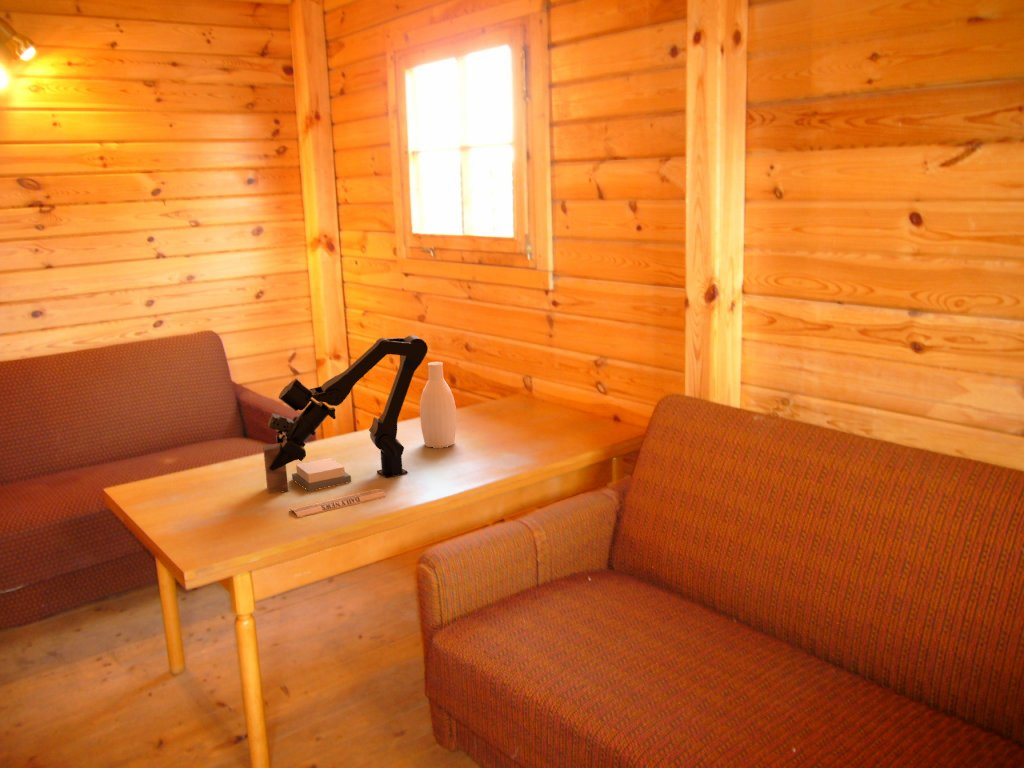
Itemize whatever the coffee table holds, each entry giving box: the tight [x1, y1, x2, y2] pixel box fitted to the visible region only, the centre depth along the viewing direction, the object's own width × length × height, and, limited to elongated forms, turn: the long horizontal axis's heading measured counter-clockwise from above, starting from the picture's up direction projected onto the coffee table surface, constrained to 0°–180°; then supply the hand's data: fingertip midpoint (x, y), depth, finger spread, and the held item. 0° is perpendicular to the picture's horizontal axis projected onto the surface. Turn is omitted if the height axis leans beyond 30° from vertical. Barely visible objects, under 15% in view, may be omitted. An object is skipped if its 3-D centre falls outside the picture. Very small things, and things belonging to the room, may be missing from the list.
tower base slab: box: [291, 471, 352, 492], centre depth 242 cm, size 12×12×2 cm
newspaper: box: [289, 488, 387, 518], centre depth 224 cm, size 24×7×2 cm, turn 123°
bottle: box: [419, 361, 457, 449], centre depth 269 cm, size 11×11×25 cm
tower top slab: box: [295, 457, 346, 483], centre depth 242 cm, size 10×10×2 cm
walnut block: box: [262, 442, 289, 495], centre depth 235 cm, size 5×5×12 cm
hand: (269, 466), depth 234 cm, fingers closed on walnut block, 5 cm apart
